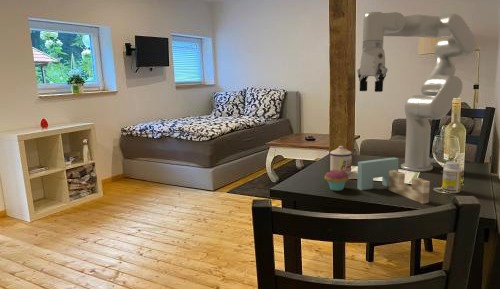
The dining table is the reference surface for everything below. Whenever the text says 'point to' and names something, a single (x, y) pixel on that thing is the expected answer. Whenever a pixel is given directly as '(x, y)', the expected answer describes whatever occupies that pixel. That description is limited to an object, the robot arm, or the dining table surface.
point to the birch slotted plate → (409, 187)
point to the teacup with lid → (336, 158)
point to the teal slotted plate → (375, 172)
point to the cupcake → (337, 178)
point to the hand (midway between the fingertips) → (370, 91)
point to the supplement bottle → (451, 177)
